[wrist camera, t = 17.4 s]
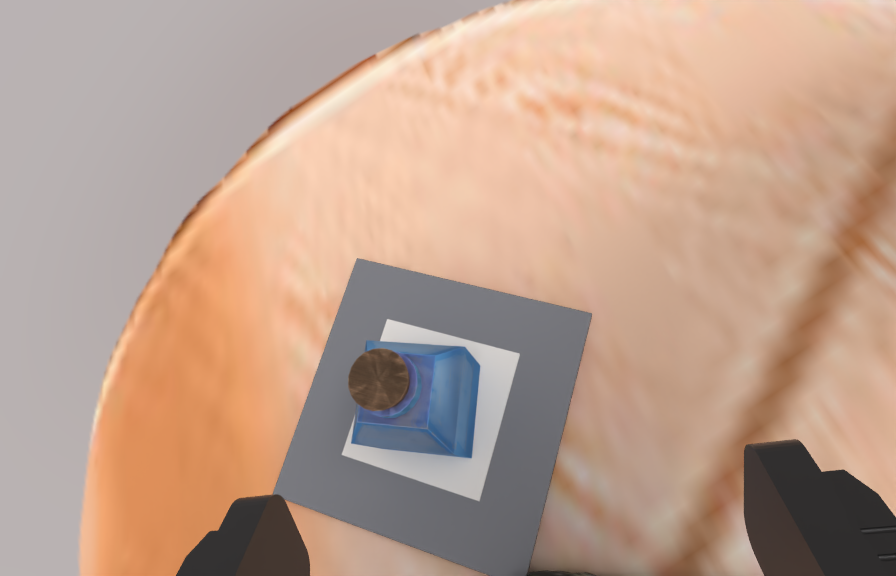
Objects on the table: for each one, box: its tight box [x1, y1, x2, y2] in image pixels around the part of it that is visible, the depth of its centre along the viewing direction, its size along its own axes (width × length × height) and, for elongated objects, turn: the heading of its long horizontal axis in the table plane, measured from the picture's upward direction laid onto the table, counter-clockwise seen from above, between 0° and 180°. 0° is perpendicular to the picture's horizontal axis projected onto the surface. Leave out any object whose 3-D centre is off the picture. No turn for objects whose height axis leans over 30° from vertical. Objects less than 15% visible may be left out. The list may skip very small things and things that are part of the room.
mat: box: [273, 258, 592, 576], centre depth 42 cm, size 18×18×1 cm
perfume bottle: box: [348, 340, 480, 458], centre depth 35 cm, size 6×6×12 cm
